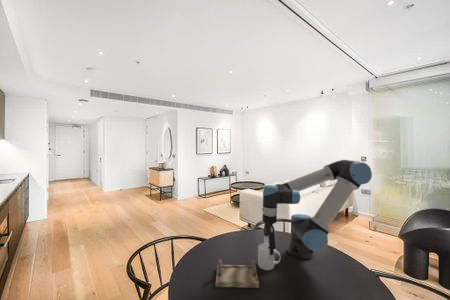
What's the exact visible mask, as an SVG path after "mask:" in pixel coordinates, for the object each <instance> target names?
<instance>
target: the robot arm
mask: <svg viewBox="0 0 450 300" xmlns="http://www.w3.org/2000/svg"><path fill="white" fill-rule="evenodd" d="M372 177H373V172H372V169H371V167H370V166H369V164H368V163H366V162H364V161H360V160H350V159H340V160H336V161H334V162H331V163H329V164H326V165H324V166H323V168H321V169H317V170H315V171H313V172H310V173H307V174H306V175H303V176H300V177H298V178H294V179H293V180H290V181H287V182H285V183H282V184H281V183H277V184H274V185H273V184H267V185H264V186H263V189H262V207H261V210H262V219H261V220H262V222H264V226H263V235H264V236H263V243H268V244H269V247H268V248H269V252H268V260H269V261H275V253H274V249H275V250H276V240H275V239H276V238H275V236H276V235H275V227H274V224H277V221H278V217H277V215H278V205H279V204H281V205H296V204H297V205H298V204H299V203H300V201H301V194H300V192H301V191H304V190H307V189H309V188H312V187H314V186H317V185H320V184H322V183H324V182H328V181H330V182H332V181H335V180H337V181H336V183H335V184H334V186H333V188H332V189H330V190H331V191H330V192H329V193H328V195H327V196H326V198H325V199H324V201H323V202H322V204H321V205H320V207H318V209H317V211H316V213H315V214H314V216H310V215H308V214H301V213H300V214H292V215H291V216H290V240H289V242H288V245H287V253H288V254H289V255H290V256H292V257H294V258H296V259H299V260H311V259H313V257H314V256H315V252H317V251H321V250H323V249H325V248H326V247H327V245H328V242H329V239H328V234H329V233H330V228H329V227H330V226H331V224H332V223H333V222H334V220H335V218H336V217H337V215H339V212H340V210H341V209H342V207H343V206H344V205H345V203H346V202H347V200H348V199H349V197H350V196H351V194H352V193H353V191H355V190H359V189H360V187H361V186H362V185H366V184H368V183H369V182H370V181H371V180H372Z"/></svg>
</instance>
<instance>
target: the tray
mask: <svg viewBox="0 0 450 300" xmlns="http://www.w3.org/2000/svg"><path fill="white" fill-rule="evenodd" d="M222 263H223V261H222V259H218V260H217V264H216V275H215V288H216V287H217V288H250V289H251V288H254V289H255V288H260V281H259V277H258V271H257V261H256V260H252V261H251V265H250V264H248V265H247V264H222Z"/></svg>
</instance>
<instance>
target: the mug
mask: <svg viewBox="0 0 450 300" xmlns="http://www.w3.org/2000/svg"><path fill="white" fill-rule="evenodd" d="M268 247H269V244H268V243H264V242H262V243H259V244H258V246H257V265H258V268H260V269H261V270H264V271H272V270H273V269H274V268H275V265H278V264H279V263H280V262H281V258H282V257H281V256H282V255H281V254H280V252H279V251H278V250H277V249H276V248H275V249H274V254H276V255H278V256H279V259H278V260H277V261H276V260H274V261H269V260H268V252H269V248H268Z"/></svg>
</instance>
